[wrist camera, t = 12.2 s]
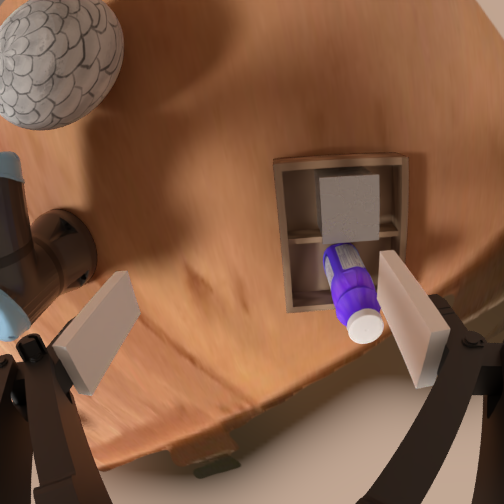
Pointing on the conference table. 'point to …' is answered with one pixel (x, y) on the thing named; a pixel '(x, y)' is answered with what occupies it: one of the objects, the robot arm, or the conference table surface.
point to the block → (347, 204)
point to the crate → (308, 233)
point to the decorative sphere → (57, 61)
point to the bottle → (353, 293)
